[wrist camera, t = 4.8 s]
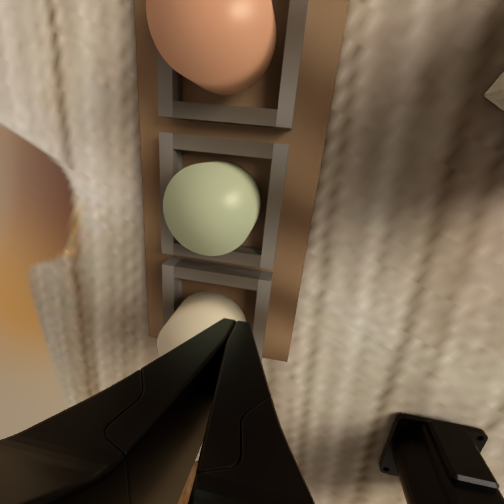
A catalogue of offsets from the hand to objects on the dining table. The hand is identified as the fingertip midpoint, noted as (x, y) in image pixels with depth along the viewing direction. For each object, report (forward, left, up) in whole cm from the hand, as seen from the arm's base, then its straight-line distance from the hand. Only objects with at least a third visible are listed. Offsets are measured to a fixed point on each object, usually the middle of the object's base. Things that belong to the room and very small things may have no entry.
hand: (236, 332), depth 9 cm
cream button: (-6, +3, -8) cm, 11 cm away
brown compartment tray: (+2, +3, -11) cm, 12 cm away
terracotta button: (+10, +3, -8) cm, 13 cm away
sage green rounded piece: (+2, +3, -9) cm, 10 cm away
